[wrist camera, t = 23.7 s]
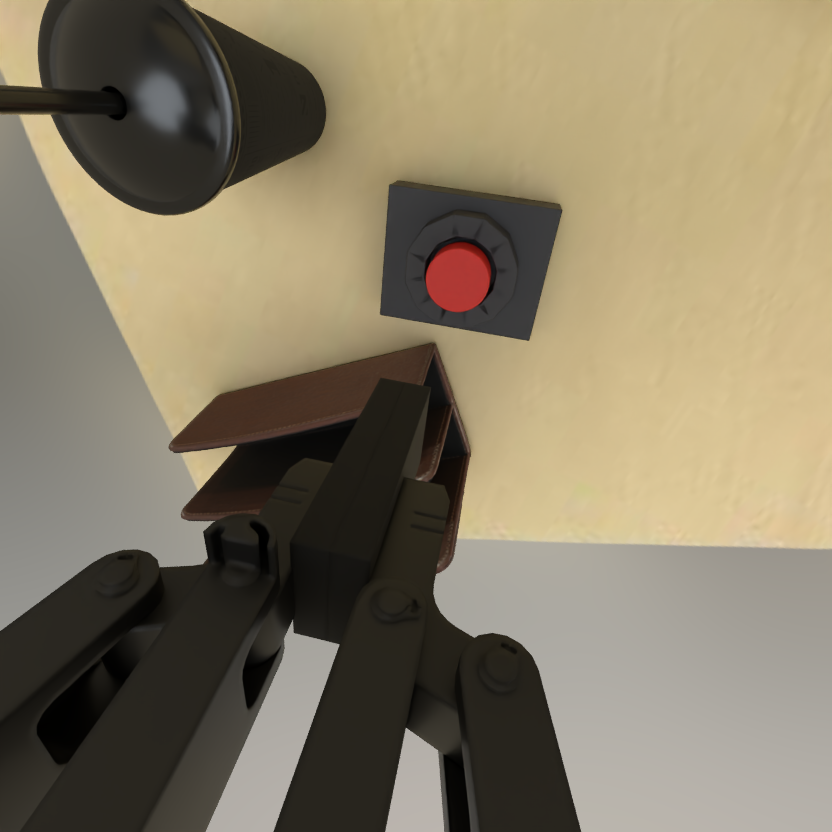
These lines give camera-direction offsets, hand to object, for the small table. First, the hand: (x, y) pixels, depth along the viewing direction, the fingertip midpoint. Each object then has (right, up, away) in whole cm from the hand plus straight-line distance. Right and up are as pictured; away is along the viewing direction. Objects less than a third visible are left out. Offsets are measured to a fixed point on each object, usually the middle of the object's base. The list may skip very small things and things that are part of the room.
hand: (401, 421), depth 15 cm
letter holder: (-6, 0, +26) cm, 26 cm away
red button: (+3, +9, +14) cm, 17 cm away
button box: (+4, +10, +17) cm, 20 cm away
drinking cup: (-7, +19, +15) cm, 25 cm away
